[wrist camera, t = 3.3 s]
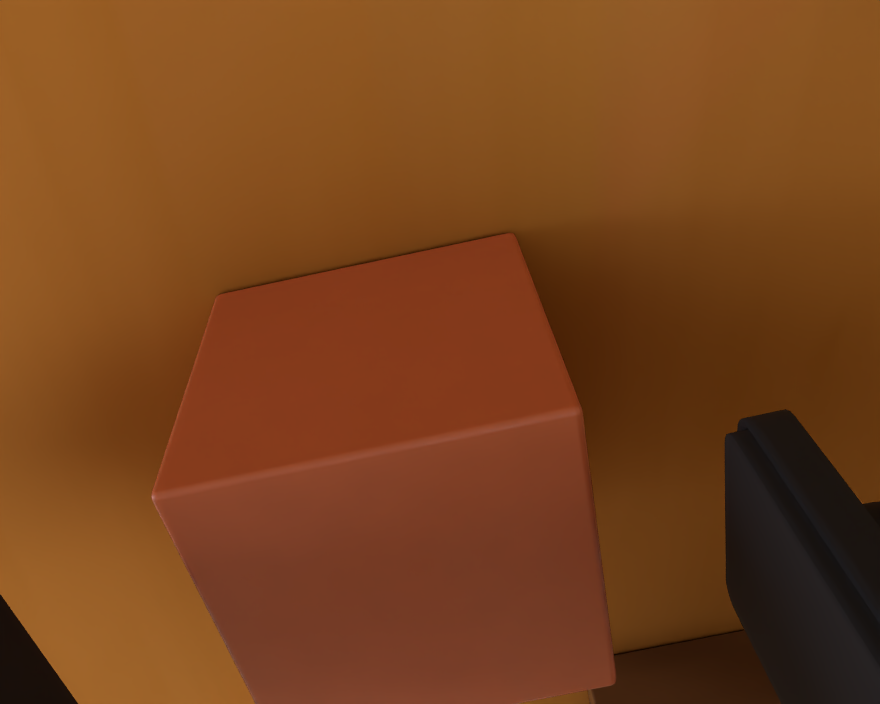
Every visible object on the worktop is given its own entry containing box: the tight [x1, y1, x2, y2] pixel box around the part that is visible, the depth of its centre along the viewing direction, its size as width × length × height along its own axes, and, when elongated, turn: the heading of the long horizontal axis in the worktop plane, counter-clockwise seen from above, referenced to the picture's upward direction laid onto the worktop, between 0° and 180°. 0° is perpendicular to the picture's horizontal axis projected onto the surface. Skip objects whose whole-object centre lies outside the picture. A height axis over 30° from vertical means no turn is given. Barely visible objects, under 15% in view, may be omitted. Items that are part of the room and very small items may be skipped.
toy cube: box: [152, 233, 616, 704], centre depth 13 cm, size 5×5×5 cm
